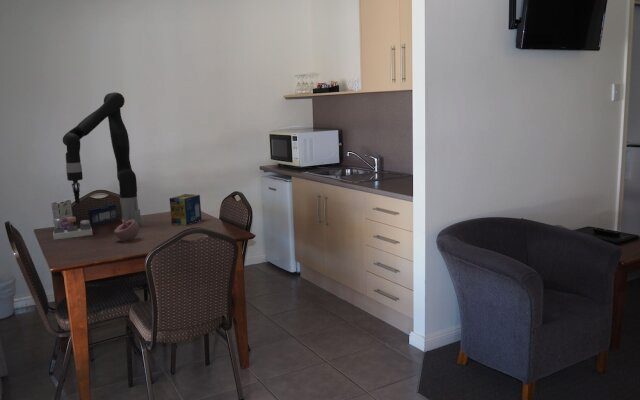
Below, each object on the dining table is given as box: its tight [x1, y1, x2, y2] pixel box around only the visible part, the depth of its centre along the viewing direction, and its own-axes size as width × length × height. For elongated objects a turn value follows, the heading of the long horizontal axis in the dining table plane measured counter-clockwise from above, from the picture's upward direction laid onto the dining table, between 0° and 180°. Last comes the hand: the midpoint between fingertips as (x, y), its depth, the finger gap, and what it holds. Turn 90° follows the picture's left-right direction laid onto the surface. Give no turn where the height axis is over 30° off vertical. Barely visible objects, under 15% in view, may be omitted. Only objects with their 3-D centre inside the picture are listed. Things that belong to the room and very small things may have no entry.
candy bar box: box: [51, 199, 75, 230], centre depth 317 cm, size 11×5×16 cm, turn 168°
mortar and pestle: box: [113, 218, 140, 242], centre depth 281 cm, size 12×12×12 cm
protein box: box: [169, 193, 202, 226], centre depth 322 cm, size 10×15×16 cm
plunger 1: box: [52, 218, 63, 227], centre depth 295 cm, size 4×4×4 cm
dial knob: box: [67, 216, 77, 226], centre depth 298 cm, size 4×4×5 cm
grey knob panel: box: [52, 224, 93, 241], centre depth 299 cm, size 19×7×5 cm, turn 115°
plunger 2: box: [80, 219, 90, 226], centre depth 301 cm, size 4×4×4 cm
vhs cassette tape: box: [87, 204, 119, 227], centre depth 331 cm, size 18×3×10 cm, turn 148°
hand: (77, 203), depth 298 cm, fingers closed
